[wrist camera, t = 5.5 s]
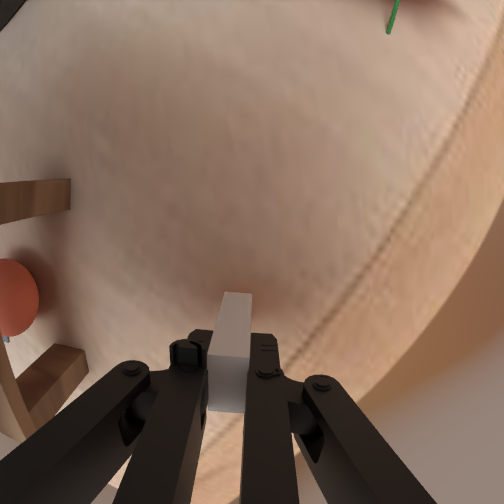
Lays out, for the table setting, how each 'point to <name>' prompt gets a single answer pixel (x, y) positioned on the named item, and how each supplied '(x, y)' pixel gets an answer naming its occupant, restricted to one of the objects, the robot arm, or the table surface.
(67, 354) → the bridge
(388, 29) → the lily
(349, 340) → the table surface
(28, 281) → the ball
